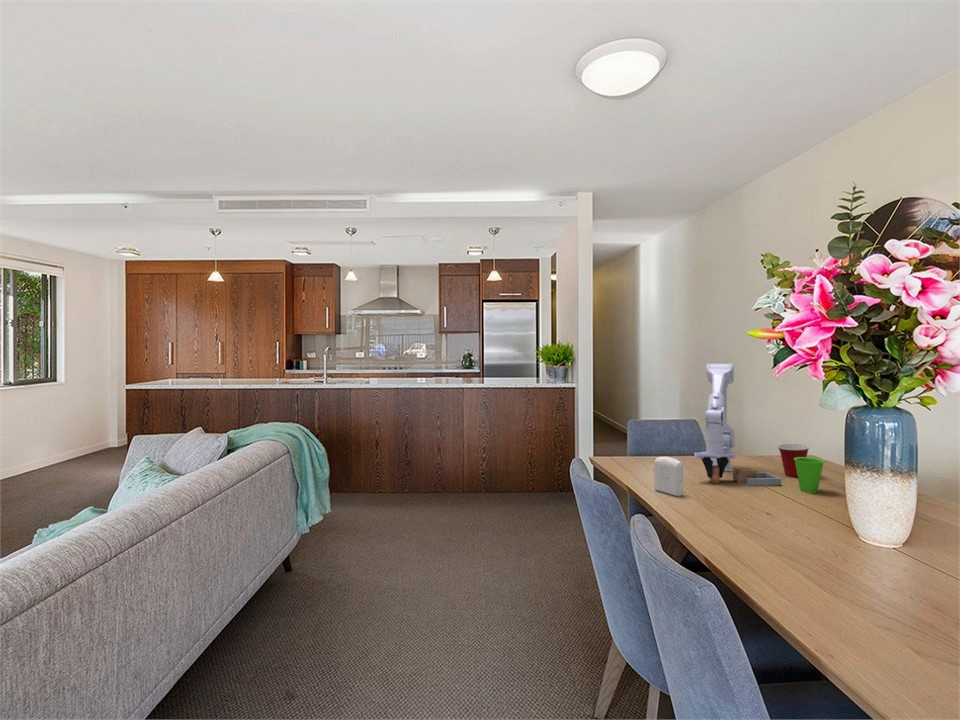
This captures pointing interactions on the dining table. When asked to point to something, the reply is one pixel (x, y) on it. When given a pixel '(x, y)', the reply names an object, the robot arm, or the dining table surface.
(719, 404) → the robot arm
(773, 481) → the grey u-shaped bracket
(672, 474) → the photo printer
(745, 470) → the tethered block
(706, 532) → the dining table surface
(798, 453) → the plastic cup
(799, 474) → the cup
